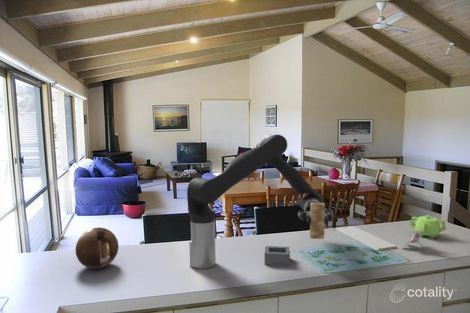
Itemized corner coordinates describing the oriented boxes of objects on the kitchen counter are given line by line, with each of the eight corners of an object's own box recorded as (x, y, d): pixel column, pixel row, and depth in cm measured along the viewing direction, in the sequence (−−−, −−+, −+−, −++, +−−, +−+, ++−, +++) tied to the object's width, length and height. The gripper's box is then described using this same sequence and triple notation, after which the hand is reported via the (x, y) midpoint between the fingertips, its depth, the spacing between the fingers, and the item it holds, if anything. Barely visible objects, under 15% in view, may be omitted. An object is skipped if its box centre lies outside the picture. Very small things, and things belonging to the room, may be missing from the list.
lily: (419, 245, 159) (408, 226, 160) (441, 243, 149) (429, 222, 150) (402, 258, 154) (390, 238, 155) (423, 257, 144) (411, 235, 145)
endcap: (264, 264, 136) (264, 253, 136) (265, 257, 144) (265, 245, 144) (289, 266, 135) (289, 254, 134) (289, 258, 143) (289, 246, 142)
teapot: (408, 232, 174) (408, 213, 173) (428, 231, 176) (429, 211, 175) (425, 240, 162) (426, 219, 161) (447, 239, 165) (448, 218, 164)
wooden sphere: (77, 262, 139) (75, 225, 138) (118, 257, 145) (116, 221, 143) (75, 278, 125) (73, 236, 124) (120, 271, 131) (118, 231, 129)
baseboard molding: (373, 252, 150) (396, 249, 153) (373, 245, 150) (397, 243, 153) (332, 231, 179) (353, 228, 183) (332, 225, 179) (353, 223, 183)
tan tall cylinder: (310, 238, 134) (311, 204, 133) (309, 235, 138) (310, 202, 136) (324, 239, 133) (325, 204, 132) (323, 236, 137) (323, 202, 136)
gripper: (296, 200, 149) (298, 210, 133) (331, 201, 148) (338, 211, 131) (296, 218, 150) (298, 230, 133) (331, 219, 148) (337, 231, 132)
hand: (318, 221), depth 132 cm, fingers closed on tan tall cylinder, 5 cm apart
